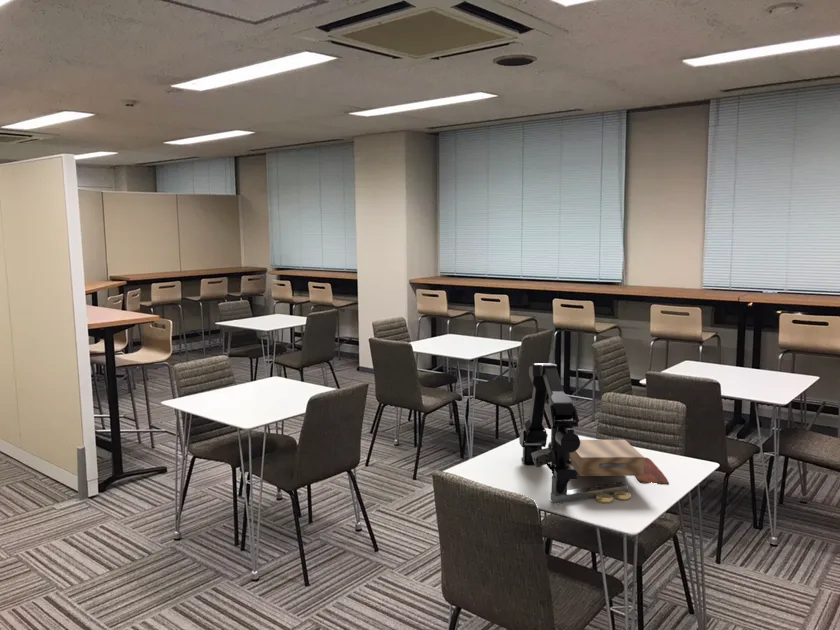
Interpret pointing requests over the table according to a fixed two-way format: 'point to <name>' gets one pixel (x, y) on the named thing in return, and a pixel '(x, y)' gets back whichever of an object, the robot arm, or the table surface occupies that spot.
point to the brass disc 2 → (622, 495)
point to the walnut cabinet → (607, 459)
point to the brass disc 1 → (604, 498)
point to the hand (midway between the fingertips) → (558, 491)
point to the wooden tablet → (652, 474)
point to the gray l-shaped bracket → (584, 491)
